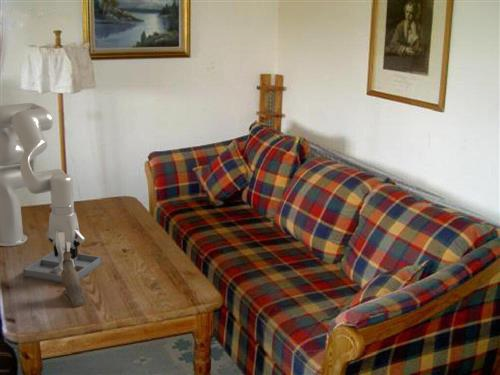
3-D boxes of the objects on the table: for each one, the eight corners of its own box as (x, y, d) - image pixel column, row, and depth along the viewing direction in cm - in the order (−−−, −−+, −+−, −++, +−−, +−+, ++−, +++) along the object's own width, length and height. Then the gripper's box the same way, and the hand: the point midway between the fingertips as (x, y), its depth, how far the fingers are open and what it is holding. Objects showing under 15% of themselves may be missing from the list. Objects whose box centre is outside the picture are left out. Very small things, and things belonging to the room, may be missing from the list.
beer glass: (71, 272, 229) (69, 233, 224) (53, 270, 230) (50, 231, 226) (80, 264, 235) (78, 226, 231) (62, 262, 236) (60, 224, 232)
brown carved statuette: (62, 301, 221) (54, 250, 219) (77, 297, 224) (70, 247, 222) (72, 308, 211) (64, 255, 209) (88, 304, 214) (80, 252, 211)
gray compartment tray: (23, 276, 233) (23, 269, 233) (56, 256, 252) (56, 249, 251) (71, 285, 227) (71, 277, 226) (101, 264, 246) (101, 256, 245)
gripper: (35, 209, 225) (39, 256, 230) (78, 215, 220) (81, 263, 225) (48, 203, 232) (52, 249, 237) (90, 209, 227) (92, 256, 232)
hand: (66, 255), depth 231 cm, fingers closed on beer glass, 6 cm apart
